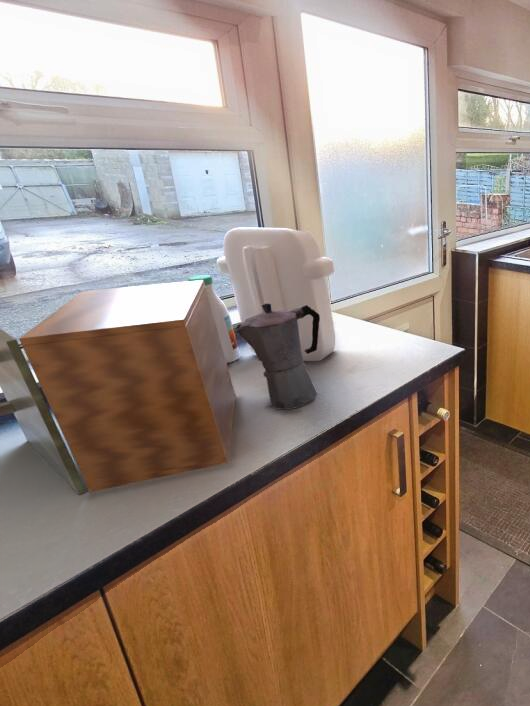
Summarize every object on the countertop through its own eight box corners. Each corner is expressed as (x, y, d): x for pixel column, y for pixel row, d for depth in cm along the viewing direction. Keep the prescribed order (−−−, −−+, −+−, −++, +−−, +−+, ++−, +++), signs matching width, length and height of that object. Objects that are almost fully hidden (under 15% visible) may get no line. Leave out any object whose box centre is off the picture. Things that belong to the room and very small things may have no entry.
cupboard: (89, 492, 72) (18, 338, 62) (130, 415, 94) (82, 291, 84) (227, 463, 79) (183, 319, 69) (236, 397, 101) (203, 279, 90)
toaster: (226, 359, 119) (190, 230, 106) (257, 343, 129) (227, 223, 116) (328, 368, 113) (303, 233, 101) (352, 350, 123) (332, 225, 110)
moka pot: (246, 404, 97) (219, 306, 89) (319, 380, 108) (302, 289, 99) (267, 420, 92) (240, 316, 83) (342, 393, 102) (325, 298, 93)
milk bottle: (230, 365, 115) (206, 280, 107) (197, 366, 115) (171, 281, 107) (246, 353, 122) (225, 272, 114) (215, 353, 122) (192, 273, 114)
